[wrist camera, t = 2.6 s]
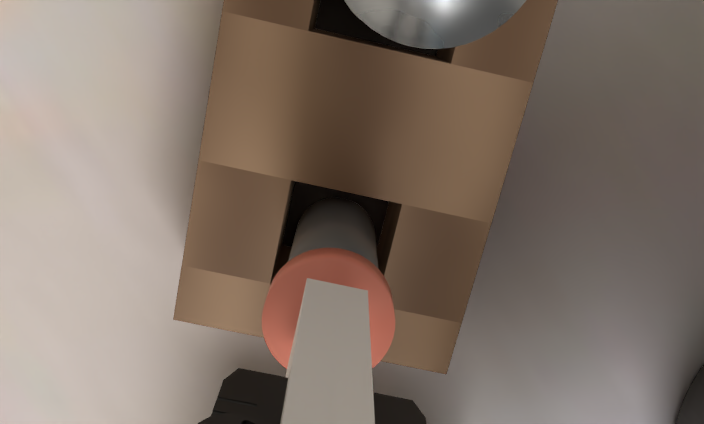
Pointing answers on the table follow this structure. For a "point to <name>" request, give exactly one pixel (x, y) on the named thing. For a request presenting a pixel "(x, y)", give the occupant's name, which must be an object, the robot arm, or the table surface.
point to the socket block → (354, 161)
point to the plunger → (329, 274)
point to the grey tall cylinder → (434, 19)
